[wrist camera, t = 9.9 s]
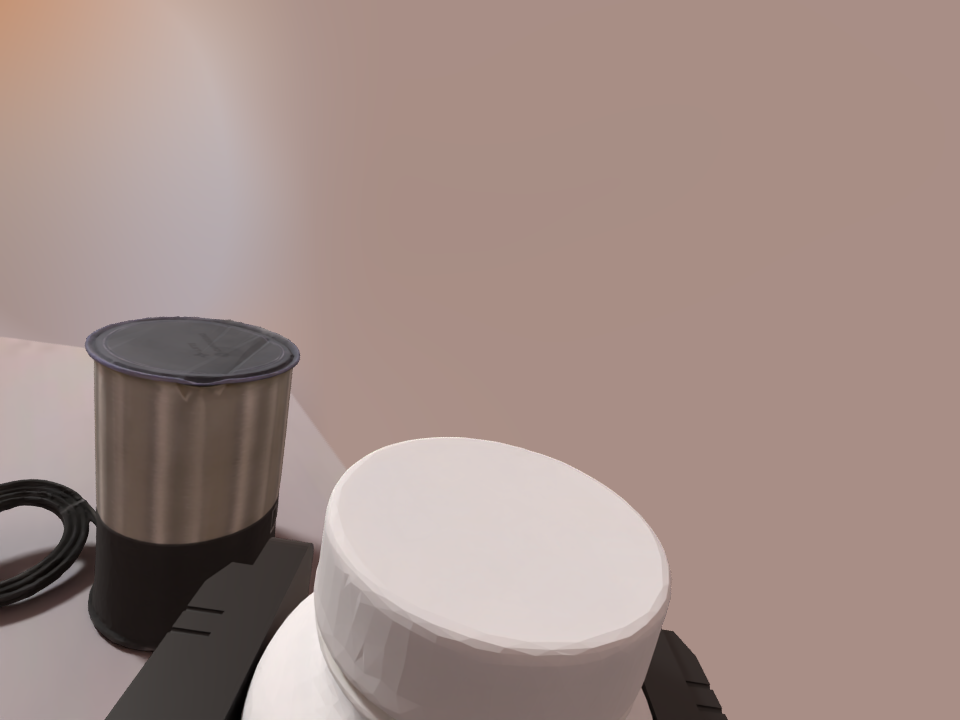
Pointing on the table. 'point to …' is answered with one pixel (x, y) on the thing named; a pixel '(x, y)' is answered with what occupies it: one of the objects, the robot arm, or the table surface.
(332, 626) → the supplement bottle
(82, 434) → the table surface
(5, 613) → the table surface
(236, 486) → the milk frother
